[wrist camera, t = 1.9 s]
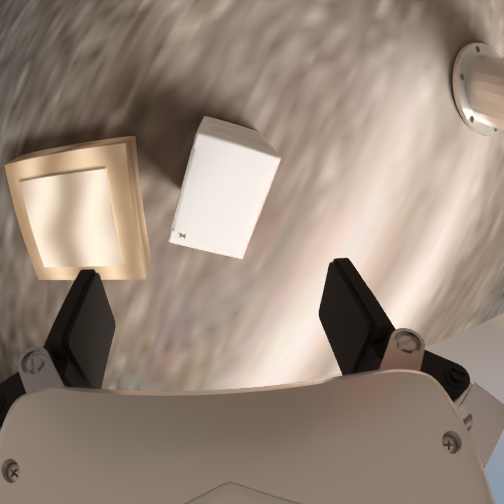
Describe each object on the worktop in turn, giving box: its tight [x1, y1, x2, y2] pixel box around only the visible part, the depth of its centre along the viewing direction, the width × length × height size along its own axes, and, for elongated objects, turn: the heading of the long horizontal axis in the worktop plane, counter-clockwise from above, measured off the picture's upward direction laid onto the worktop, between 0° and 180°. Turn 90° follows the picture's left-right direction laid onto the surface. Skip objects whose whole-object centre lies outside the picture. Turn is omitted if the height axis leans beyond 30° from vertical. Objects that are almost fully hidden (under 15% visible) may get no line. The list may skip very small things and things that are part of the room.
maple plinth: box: [5, 136, 151, 280], centre depth 26 cm, size 14×14×4 cm
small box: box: [168, 116, 281, 259], centre depth 23 cm, size 8×6×10 cm
